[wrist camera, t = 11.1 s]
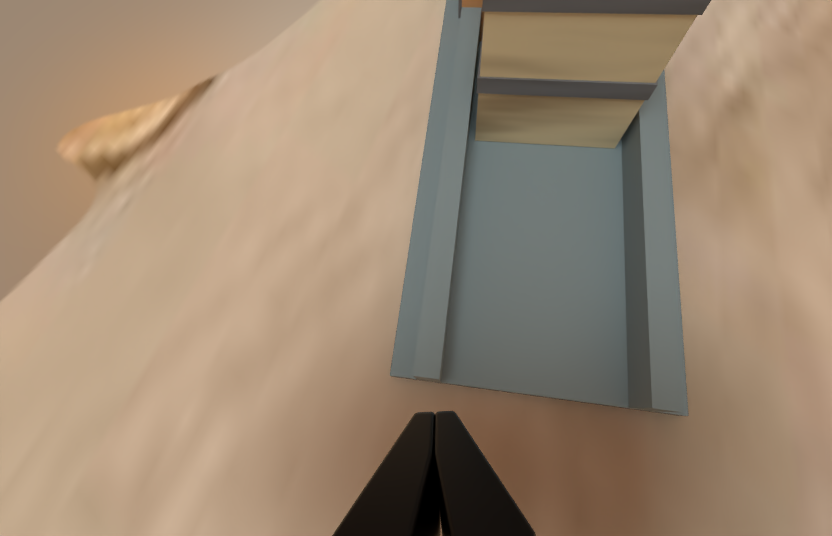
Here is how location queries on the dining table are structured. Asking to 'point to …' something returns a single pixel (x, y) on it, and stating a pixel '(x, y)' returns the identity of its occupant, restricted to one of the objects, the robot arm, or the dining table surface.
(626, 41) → the crate
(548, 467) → the dining table surface
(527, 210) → the bay
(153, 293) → the dining table surface
